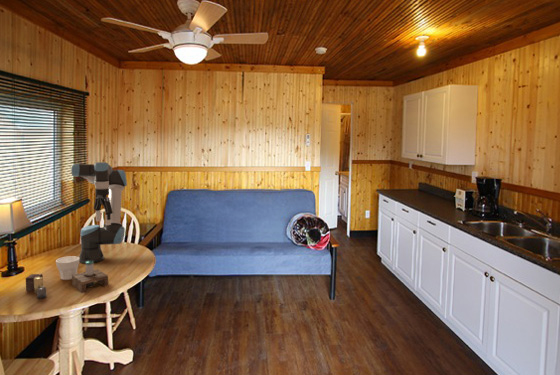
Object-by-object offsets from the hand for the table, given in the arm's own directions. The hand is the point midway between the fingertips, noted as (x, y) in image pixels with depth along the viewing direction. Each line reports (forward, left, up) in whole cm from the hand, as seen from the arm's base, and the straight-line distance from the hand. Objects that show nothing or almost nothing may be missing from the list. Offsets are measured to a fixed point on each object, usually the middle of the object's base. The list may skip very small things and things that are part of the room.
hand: (103, 223), depth 230 cm
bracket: (+13, -14, -32) cm, 37 cm away
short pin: (+12, -38, -32) cm, 51 cm away
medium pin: (+4, -37, -32) cm, 49 cm away
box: (-3, -37, -32) cm, 49 cm away
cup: (-8, -18, -32) cm, 37 cm away
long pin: (+13, -14, -32) cm, 37 cm away
